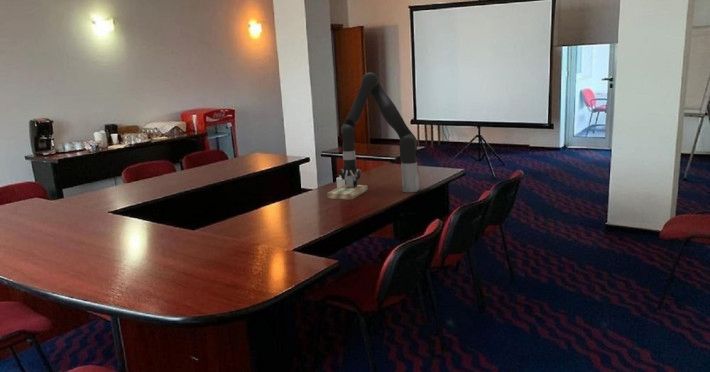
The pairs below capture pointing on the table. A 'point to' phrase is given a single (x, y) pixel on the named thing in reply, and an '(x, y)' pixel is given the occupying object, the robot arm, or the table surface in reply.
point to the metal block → (350, 181)
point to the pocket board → (347, 192)
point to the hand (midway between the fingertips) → (351, 186)
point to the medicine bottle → (340, 180)
